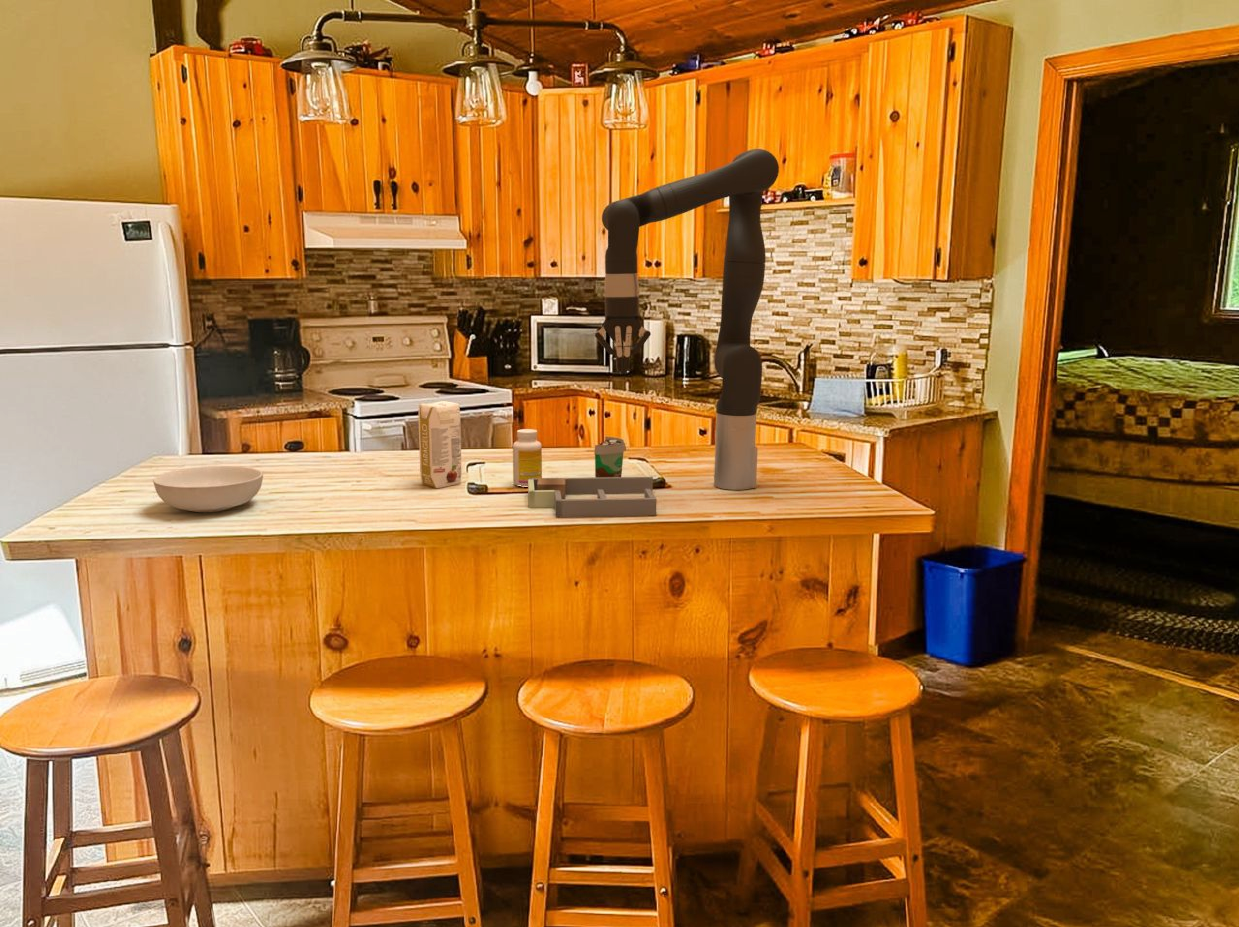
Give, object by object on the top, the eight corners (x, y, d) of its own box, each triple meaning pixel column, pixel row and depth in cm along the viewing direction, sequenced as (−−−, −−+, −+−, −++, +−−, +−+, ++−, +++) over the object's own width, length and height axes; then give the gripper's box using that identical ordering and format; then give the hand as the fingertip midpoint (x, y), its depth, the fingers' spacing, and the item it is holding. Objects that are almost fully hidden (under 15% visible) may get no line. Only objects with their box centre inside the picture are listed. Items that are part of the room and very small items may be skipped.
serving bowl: (261, 516, 192) (259, 483, 190) (147, 523, 186) (144, 489, 184) (268, 492, 211) (265, 462, 210) (165, 498, 205) (162, 467, 204)
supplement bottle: (547, 485, 221) (547, 431, 218) (523, 489, 217) (523, 434, 214) (531, 480, 226) (531, 427, 223) (507, 484, 222) (507, 430, 219)
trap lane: (651, 491, 216) (652, 476, 215) (665, 515, 196) (666, 499, 195) (528, 493, 213) (528, 478, 212) (529, 517, 193) (529, 501, 192)
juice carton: (466, 483, 222) (464, 403, 218) (435, 489, 215) (433, 407, 211) (446, 478, 227) (444, 399, 223) (416, 484, 220) (413, 403, 216)
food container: (620, 489, 218) (620, 446, 216) (594, 488, 219) (594, 445, 217) (630, 478, 230) (631, 437, 228) (605, 476, 231) (605, 436, 229)
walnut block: (565, 495, 212) (565, 478, 212) (565, 502, 207) (565, 484, 206) (538, 495, 212) (538, 478, 211) (537, 502, 206) (537, 484, 205)
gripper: (648, 293, 212) (649, 370, 216) (590, 294, 211) (591, 372, 214) (654, 294, 205) (655, 374, 209) (593, 296, 204) (595, 376, 207)
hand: (623, 373), depth 212 cm, fingers closed
